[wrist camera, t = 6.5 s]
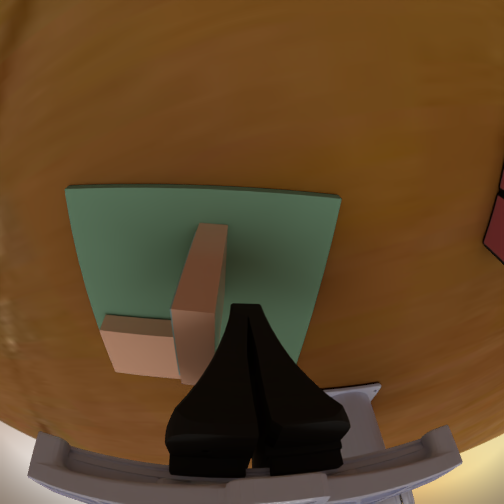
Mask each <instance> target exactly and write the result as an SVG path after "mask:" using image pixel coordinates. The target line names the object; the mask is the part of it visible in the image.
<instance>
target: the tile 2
mask: <svg viewBox="0 0 504 504" xmlns="http://www.w3.org/2000/svg"><path fill="white" fill-rule="evenodd" d="M227 236H228V225H222V224H208V223H199V225H198V228H197V231H196V232H195V234H194V237H193V240H192V242H191V245H190V248H189V251H188V254H187V257H186V260H185V263H184V266H183V269H182V272H181V275H180V278H179V281H178V284H177V287H176V290H175V294H174V297H173V300H172V303H171V306H170V317H171V324H172V332H173V339H174V346H175V353H176V359H177V366H178V372H179V375H180V376H181V382H182V384H187V385H195V384H196V383H197V382H198V380H199V379H200V377H201V376H202V374H203V373H204V371H205V370H206V368H207V367H208V365H209V363H210V361H211V360H212V358H213V356H214V354H215V352H216V350H217V348H218V346H219V341H220V332H221V323H222V314H223V305H224V296H225V275H226V255H227Z"/></svg>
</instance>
